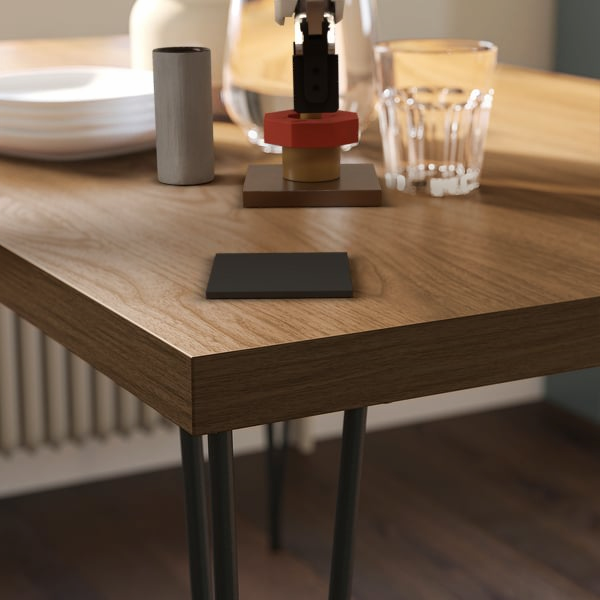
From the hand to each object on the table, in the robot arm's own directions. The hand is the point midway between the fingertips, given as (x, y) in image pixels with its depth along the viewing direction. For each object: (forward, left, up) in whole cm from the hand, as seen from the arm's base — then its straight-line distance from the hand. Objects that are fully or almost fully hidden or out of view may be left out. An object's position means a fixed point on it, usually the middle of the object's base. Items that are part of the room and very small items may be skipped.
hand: (315, 102), depth 88 cm
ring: (0, 0, -3) cm, 3 cm away
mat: (-2, -23, -7) cm, 24 cm away
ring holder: (0, 0, -7) cm, 7 cm away
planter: (-10, +5, -7) cm, 13 cm away
